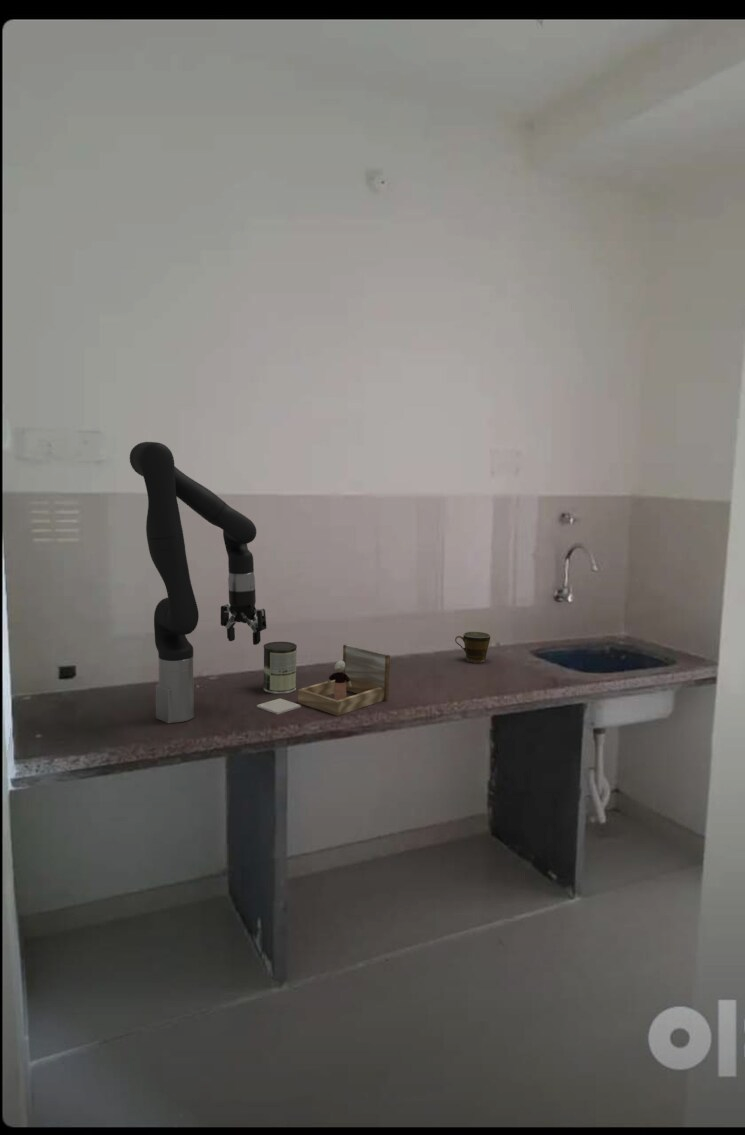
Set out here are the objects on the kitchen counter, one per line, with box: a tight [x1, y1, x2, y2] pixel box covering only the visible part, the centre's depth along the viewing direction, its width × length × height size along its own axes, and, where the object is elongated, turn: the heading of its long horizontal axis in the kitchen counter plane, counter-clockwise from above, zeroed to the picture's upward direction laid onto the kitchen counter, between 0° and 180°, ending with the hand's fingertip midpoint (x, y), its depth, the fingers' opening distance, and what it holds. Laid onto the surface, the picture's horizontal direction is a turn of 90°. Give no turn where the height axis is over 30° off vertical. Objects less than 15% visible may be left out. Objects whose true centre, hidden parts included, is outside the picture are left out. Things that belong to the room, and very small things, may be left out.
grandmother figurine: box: [326, 660, 352, 700], centre depth 220 cm, size 8×4×13 cm, turn 84°
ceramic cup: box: [454, 631, 491, 664], centre depth 272 cm, size 13×10×10 cm
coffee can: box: [262, 641, 298, 695], centre depth 231 cm, size 10×10×14 cm
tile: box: [256, 697, 302, 715], centre depth 214 cm, size 9×9×1 cm
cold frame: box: [297, 643, 391, 717], centre depth 221 cm, size 21×18×14 cm
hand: (243, 642), depth 212 cm, fingers open, 8 cm apart
